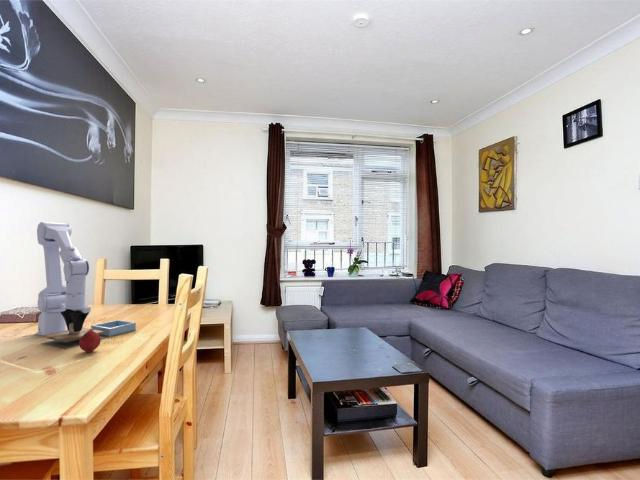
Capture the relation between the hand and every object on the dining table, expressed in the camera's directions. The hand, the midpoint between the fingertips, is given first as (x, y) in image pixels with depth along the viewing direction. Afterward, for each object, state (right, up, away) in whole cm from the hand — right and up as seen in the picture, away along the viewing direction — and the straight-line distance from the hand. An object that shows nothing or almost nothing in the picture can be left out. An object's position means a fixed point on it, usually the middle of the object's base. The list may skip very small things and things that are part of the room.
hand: (74, 330), depth 122 cm
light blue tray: (+6, -4, +13) cm, 15 cm away
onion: (+14, -5, -12) cm, 18 cm away
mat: (0, -4, 0) cm, 4 cm away
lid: (0, -2, 0) cm, 2 cm away
